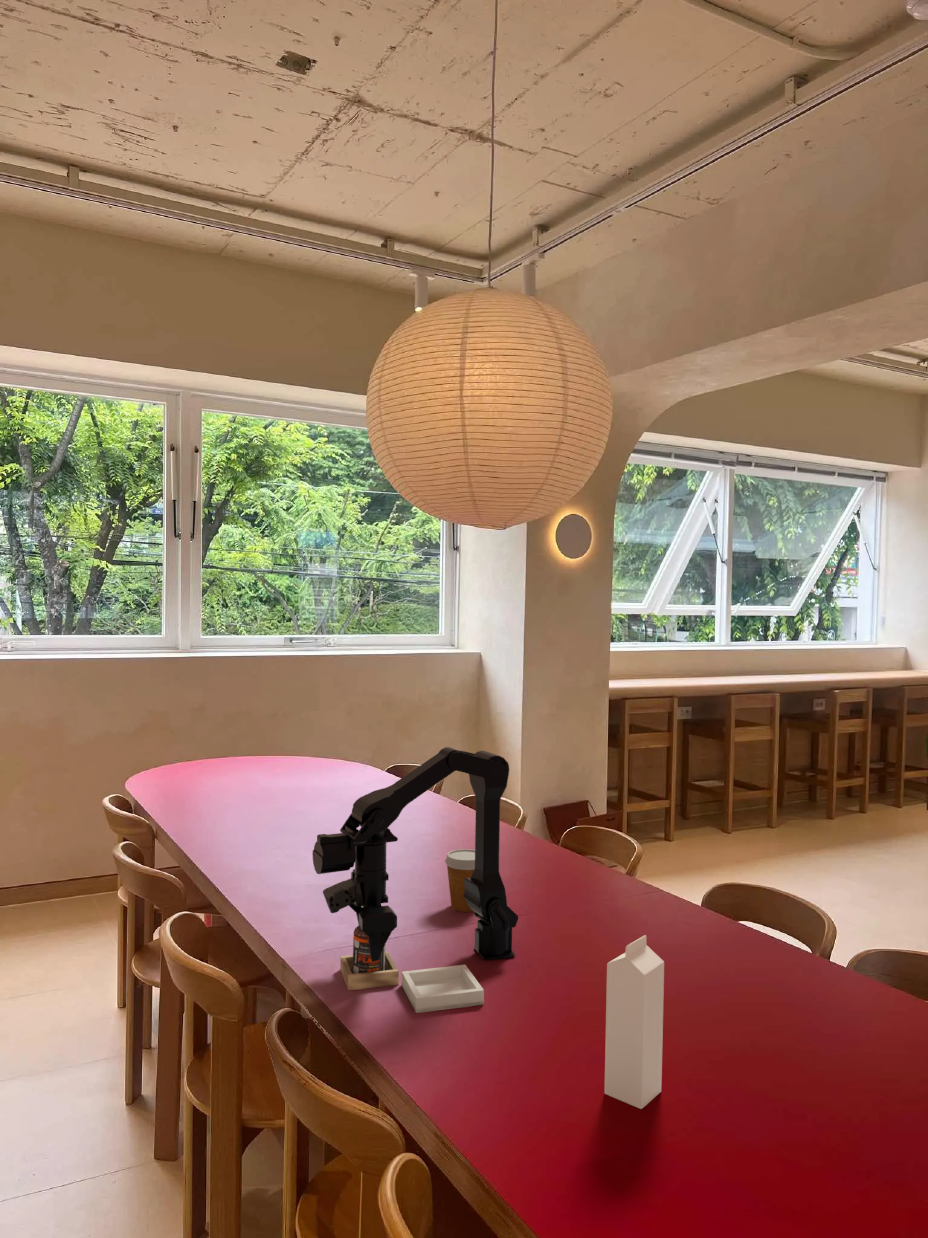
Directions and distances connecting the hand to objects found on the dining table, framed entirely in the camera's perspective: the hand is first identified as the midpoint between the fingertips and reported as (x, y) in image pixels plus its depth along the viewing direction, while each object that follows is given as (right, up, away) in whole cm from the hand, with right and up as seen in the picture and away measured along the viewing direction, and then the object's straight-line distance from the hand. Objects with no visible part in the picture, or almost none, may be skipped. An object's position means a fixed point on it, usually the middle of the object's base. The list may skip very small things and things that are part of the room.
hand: (369, 950), depth 164 cm
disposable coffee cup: (+18, -4, +37) cm, 42 cm away
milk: (+42, -7, -37) cm, 56 cm away
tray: (+13, -5, -7) cm, 16 cm away
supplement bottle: (0, -5, 0) cm, 5 cm away
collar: (0, -5, 0) cm, 5 cm away
